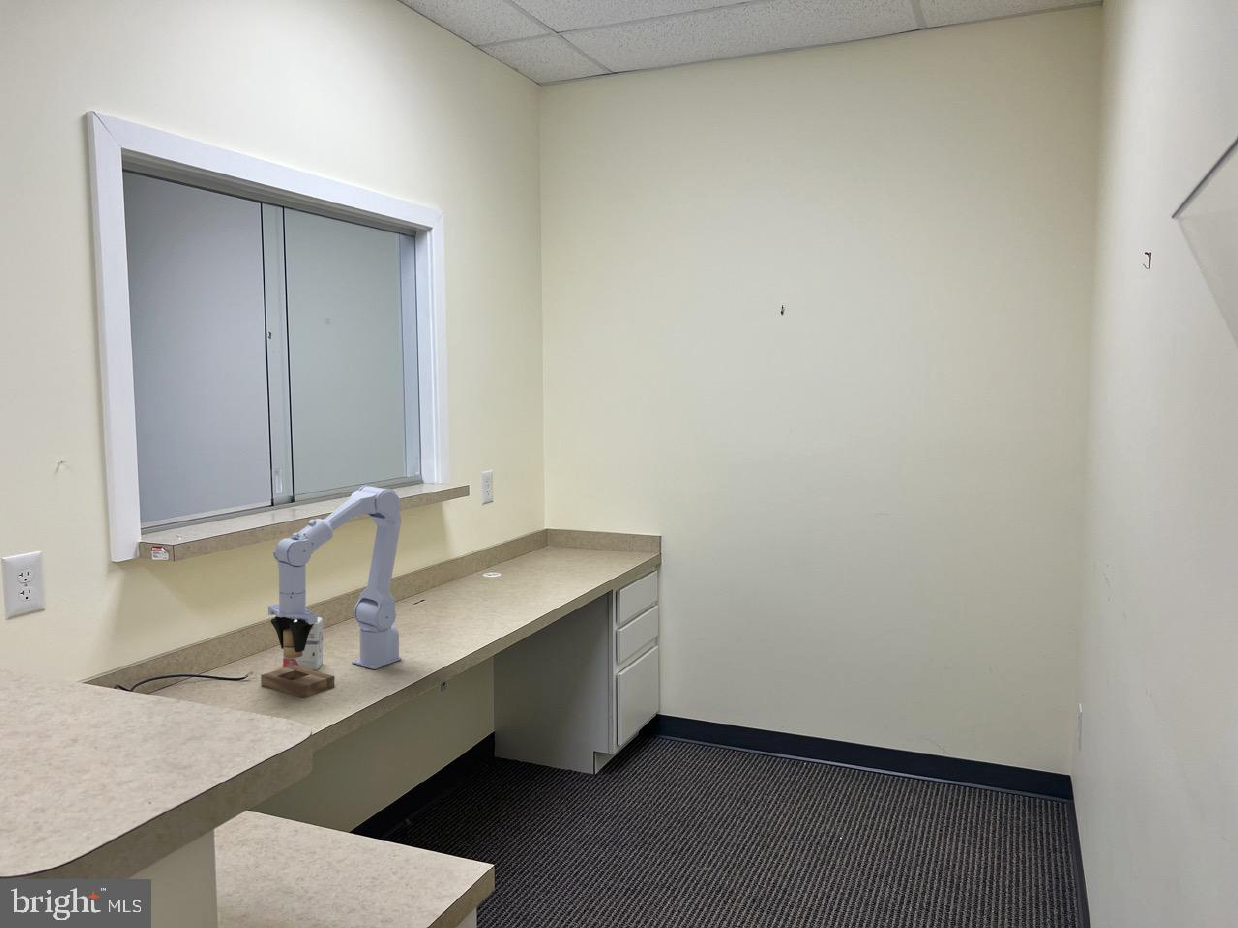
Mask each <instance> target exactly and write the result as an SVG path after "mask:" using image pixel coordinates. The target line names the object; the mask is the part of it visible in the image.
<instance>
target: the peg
mask: <svg viewBox="0 0 1238 928" xmlns="http://www.w3.org/2000/svg"><path fill="white" fill-rule="evenodd" d="M283 642H284V644H283V646H284V657H285V658H298V657H301V656H302V651H301V652H295V649H294V638H293V634H292V630H291V628H289V629H285V630H283Z"/></svg>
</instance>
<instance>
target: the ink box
mask: <svg viewBox="0 0 1238 928" xmlns="http://www.w3.org/2000/svg"><path fill="white" fill-rule="evenodd" d="M294 622H297V620H295V621H294ZM282 661H283V662H282V663H283V664H282V665H283V666H282V668H284V667H287V666H290V665H296V666H300V667H304V668H307V669H311V670H315V671H318V669H319V668H320V667H322V665H323V664H324V618H322V617H321V616H318V623H315V624H314V625H313V627H312V629H311V631H310V633H309V635H308V638H307V641H306V645H305V649H304V651H302V656H301V657H298V658H285V657H284V649H282Z"/></svg>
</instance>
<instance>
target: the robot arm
mask: <svg viewBox="0 0 1238 928" xmlns="http://www.w3.org/2000/svg"><path fill="white" fill-rule="evenodd" d="M401 500H402V499H401V498H400V497H399V495H398V494H397V493H396V491H394V490H393V489H389V488H382V487H381V488H380V487H375V486H370V485H364V486H363V485H362V486H361V487H359V489H358V490H355V491H353V492H352V494H351V496H350V497H349V498H348V499H347V500H346V501H344V502H343V503H342V504H341V505H340V506H339V507H337V508H335V510H334V511H333V512H331V513H330V514H328V515H327V516H326V517H325V518H324V519H322V518H316V519H311V520H309V521H308V522H307V523H308V524H307V525H306V526H305V527H303V528H302V529H301V530H299V531H297V532H294V533H292V536H290V538H289V537H287V538H283V539H281V540H280V541H279V542H278V543H277V545H276V546H275V549H274V550H273V551H272V554H273V558H274V560H275V561H276V563H277V568H278V602H279V603H278V604H272V605H268V606H267V615H270V616H272V615H275V617H274V618H271V619H270V623H271V625H272V626H273V628H274V630H275V633H276V635H277V637H278V641H279V644H280V647H281V649H282V650H283V649H284V646H283V644H284V642H283V630H285V629H289V628H291V630H292V634H293V638H294V649H295V652H301V651H304V649H305V645H306V641H307V638H308V635H309V633H310V631H311V629H312V627H313V625H314V624H315V623H318V617H319V615H318V613H315V612H312V611H310V610H309V609H307V607H306V606H307V604H306V603H307V601H306V599H307V598H306V595H307V594H306V593H307V592H306V591H307V590H306V564H308V563H309V561H310V559H311V557H312V554H313V553H314V552H315V551H317V550H318V549H319V548H321V547H322V546H323V545H325V544H327V542H328V541H330V540H331V539H332V538H333V534H334V531H335V530H337V529H338V528H340V527H342V526H343V525H344V524H346V523H347V522H349V521H351V520H352V519H354V518H355V517H357V516H359V515H363V514H365V515H368V516H369V517H371V519H372V520H373V522H374V523H375V524H376V525H377V527H376V533H375V534H376V535H375V539H374V545H373V550H372V557H371V563H370V569H369V575H368V578H367V579H368V581H367V586H366V587H365V589H363V591H361V592H360V593H359V596H358V600H357V602H356V604H355V605H354V608H353V612H352V613H353V618H354V620H355V621H356V622H357V623H358V627H359V658H358V659H355V660H352V661H351V663H352V664H353V665H358V666H362V667H365V668H368V669H369V668H370V669H373V670H376V669H379V668H382V667H384V666H387V665H390V664H392V663H395V662H398V661H401V660H402V657H401V656H400V634H399V631H398V629H397V627H396V626H395V625H394V623H395V621H396V618H397V612H396V611H397V610H396V609H395V608H396V607H395V606H396V599H395V597H394V596H393V594H392V593H391V591H390V588H391V585H392V576H393V571H394V565H395V562H396V561H395V560H396V553H397V549H398V543H399V537H400V531H401V525H402V524H401V523H402V519H401V518H402V517H401V511H400V506H401V502H402V501H401ZM295 620H297V622H294V621H295Z"/></svg>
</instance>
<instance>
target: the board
mask: <svg viewBox="0 0 1238 928" xmlns="http://www.w3.org/2000/svg"><path fill="white" fill-rule="evenodd" d="M260 679H261V680H260V683H261V686H263V687H266V688H268V689H269V688H270V689H272V690H276V691H278V692H279V691H280V692H283V693H286V694H289V695H293V696H295V697H300V698H307V697H309V696H312V695H314V694H317V693H320V692H323V691H326V690H328V689H331V688H334V687H335V686H336V685H335V675H332V674H328V673H325V672H323V671H322V672H321V671H318V670H311V669H307V668H304V667H300V666H296V665H290V666H287V667H284V668H283V667H282V668H278V669H276V670H272V671H269V672H266V673H262V674H261V677H260Z"/></svg>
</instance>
